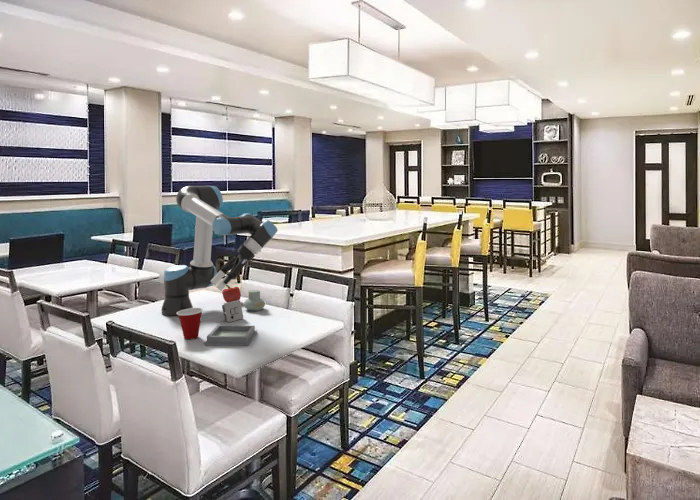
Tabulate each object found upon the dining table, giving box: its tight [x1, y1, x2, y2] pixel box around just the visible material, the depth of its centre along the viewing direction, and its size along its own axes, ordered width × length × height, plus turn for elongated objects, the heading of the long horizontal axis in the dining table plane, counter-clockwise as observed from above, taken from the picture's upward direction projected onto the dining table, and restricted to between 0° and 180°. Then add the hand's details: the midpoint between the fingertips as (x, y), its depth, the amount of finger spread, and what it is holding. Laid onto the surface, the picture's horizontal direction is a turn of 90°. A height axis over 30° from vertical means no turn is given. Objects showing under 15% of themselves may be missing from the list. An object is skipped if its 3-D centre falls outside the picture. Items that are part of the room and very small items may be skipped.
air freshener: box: [243, 289, 266, 312], centre depth 259 cm, size 11×8×10 cm
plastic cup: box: [176, 307, 204, 340], centre depth 212 cm, size 11×11×12 cm
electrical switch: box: [221, 300, 244, 323], centre depth 240 cm, size 9×5×9 cm, turn 141°
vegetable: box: [221, 284, 242, 303], centre depth 273 cm, size 11×10×10 cm
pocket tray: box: [203, 324, 258, 347], centre depth 211 cm, size 18×18×4 cm
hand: (215, 286), depth 214 cm, fingers open, 13 cm apart
